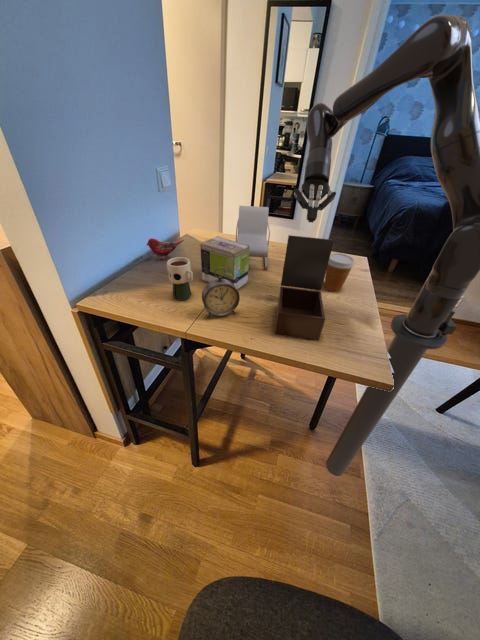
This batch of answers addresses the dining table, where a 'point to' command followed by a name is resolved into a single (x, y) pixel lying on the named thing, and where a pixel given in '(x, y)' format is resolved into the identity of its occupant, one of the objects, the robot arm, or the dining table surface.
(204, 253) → the tea box
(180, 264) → the character mug
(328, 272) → the disposable coffee cup
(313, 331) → the dark brown box
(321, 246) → the lid
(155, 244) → the decorative bird figurine
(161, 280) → the dining table surface
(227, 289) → the alarm clock
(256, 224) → the chair
